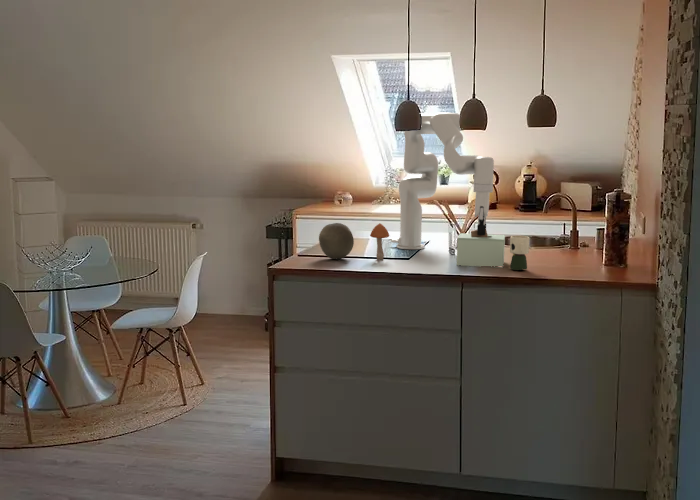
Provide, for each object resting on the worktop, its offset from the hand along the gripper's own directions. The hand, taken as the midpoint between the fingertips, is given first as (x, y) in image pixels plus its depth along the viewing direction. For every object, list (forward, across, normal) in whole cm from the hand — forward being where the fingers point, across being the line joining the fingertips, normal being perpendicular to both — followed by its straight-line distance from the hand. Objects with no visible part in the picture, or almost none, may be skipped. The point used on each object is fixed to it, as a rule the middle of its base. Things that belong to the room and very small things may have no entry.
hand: (481, 234), depth 320 cm
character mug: (+12, +11, +15) cm, 22 cm away
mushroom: (+12, +1, -41) cm, 43 cm away
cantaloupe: (+12, +6, -58) cm, 60 cm away
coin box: (+12, 0, 0) cm, 12 cm away
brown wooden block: (+3, 0, 0) cm, 3 cm away
